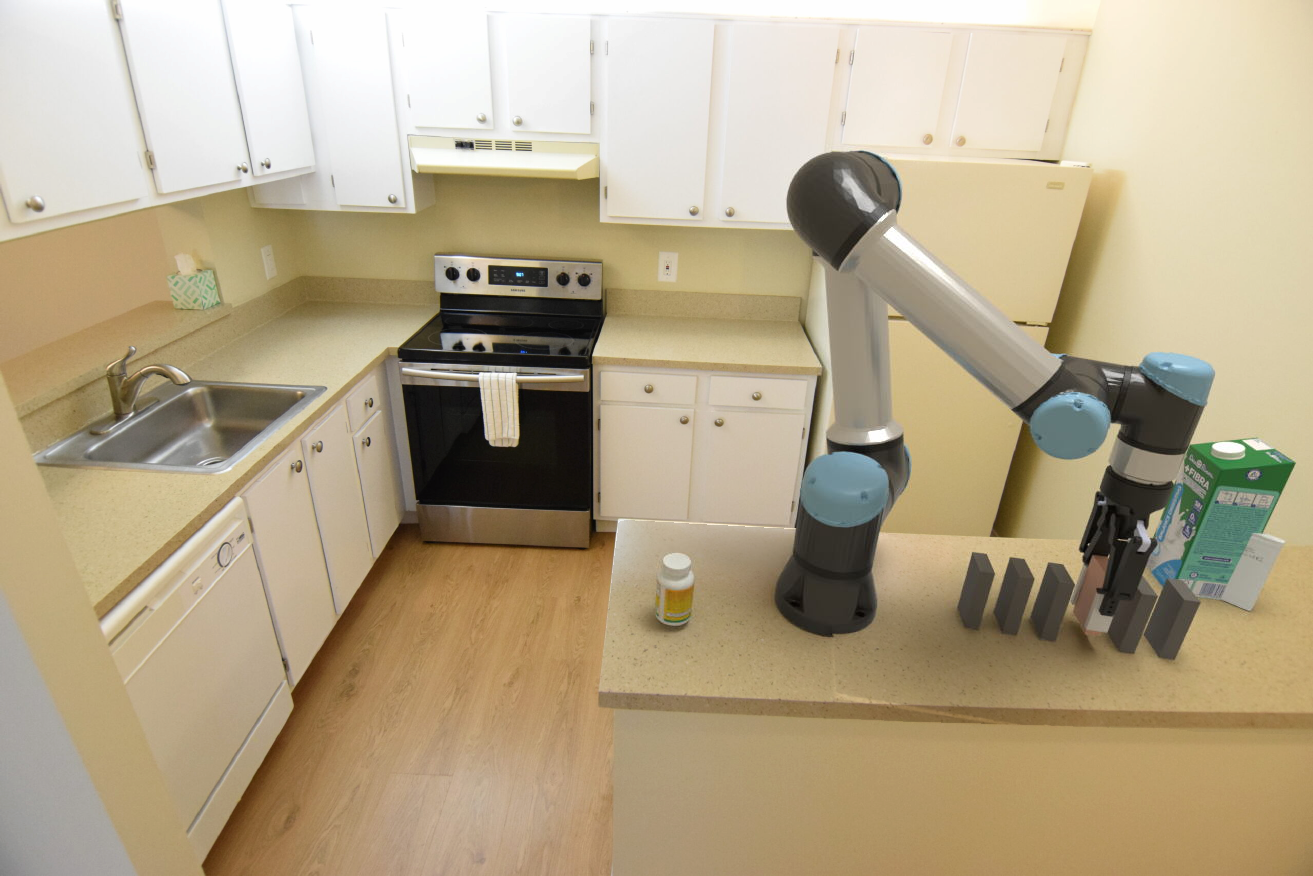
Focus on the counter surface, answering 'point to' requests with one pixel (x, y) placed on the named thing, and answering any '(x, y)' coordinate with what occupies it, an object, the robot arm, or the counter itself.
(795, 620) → the robot arm
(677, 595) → the supplement bottle
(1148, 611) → the domino
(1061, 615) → the domino
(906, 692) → the counter surface
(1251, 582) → the external hard drive
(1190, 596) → the domino
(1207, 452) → the milk carton
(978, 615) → the domino
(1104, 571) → the domino
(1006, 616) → the domino
